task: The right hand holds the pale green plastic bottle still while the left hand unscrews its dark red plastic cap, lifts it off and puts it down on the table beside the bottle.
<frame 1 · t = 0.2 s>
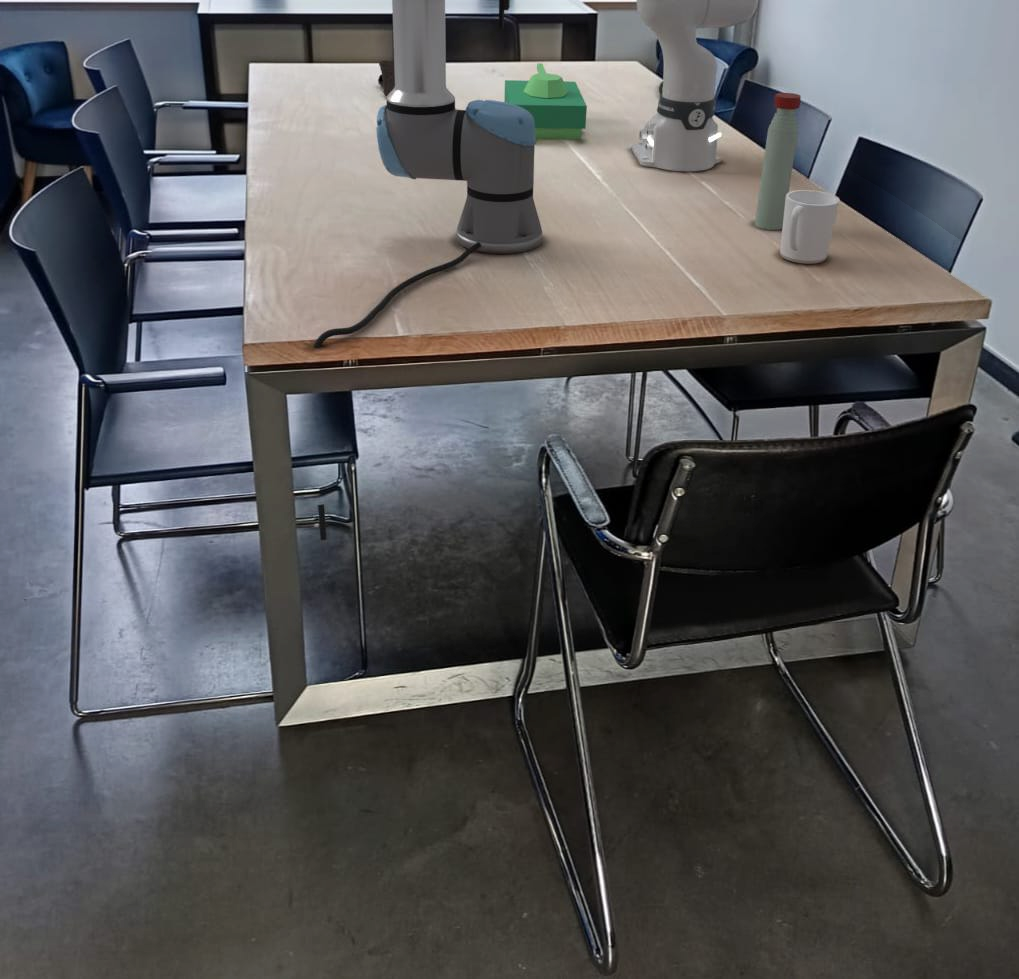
left hand: (468, 26, 224), 28 cm above the table, tool pointing down, fingers open, 13 cm apart
axe head: (403, 91, 300), on the table
mug: (800, 258, 191), on the table
toy tank: (541, 125, 270), on the table
cap: (787, 97, 194), point 23 cm above the table, screwed on, not yet turned
bottle: (769, 225, 206), on the table
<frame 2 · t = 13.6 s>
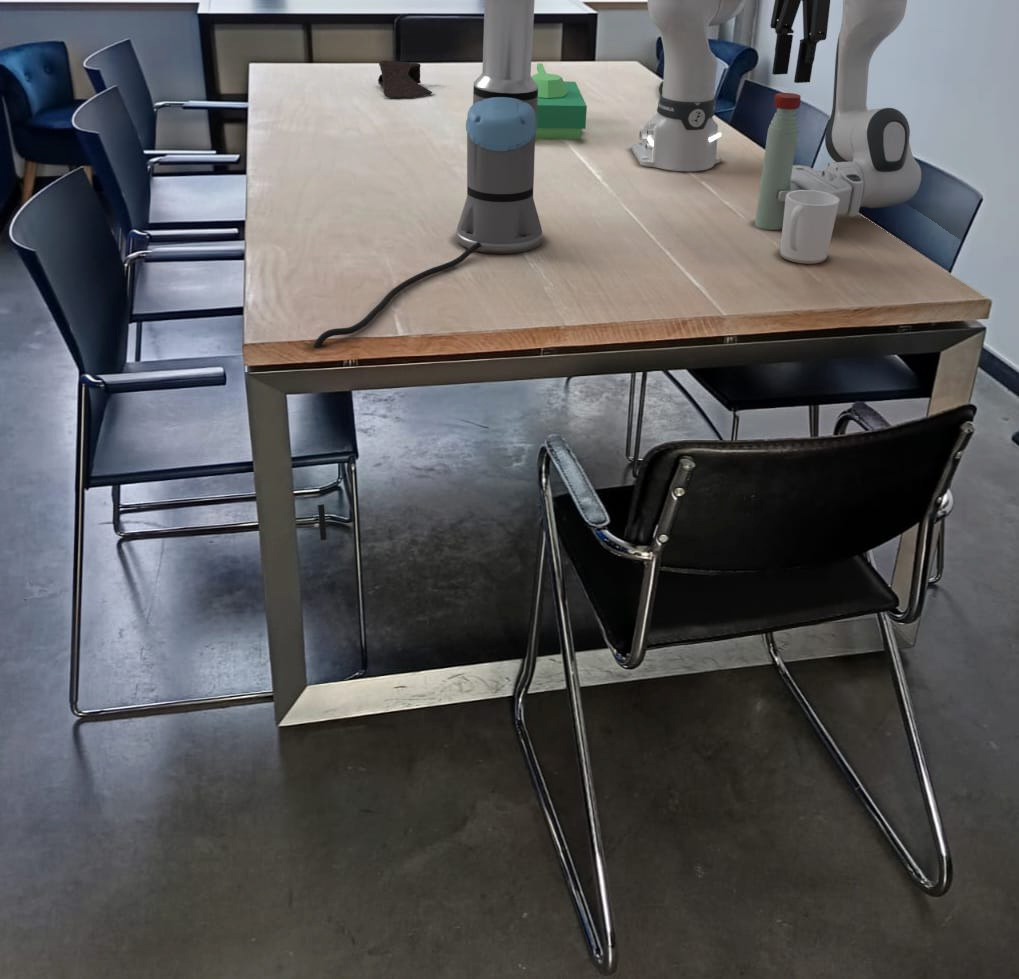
left hand: (790, 77, 192), 27 cm above the table, tool pointing down, fingers open, 7 cm apart
right hand: (770, 190, 203), 7 cm above the table, tool horizontal, fingers closed on bottle, 5 cm apart
bottle: (769, 225, 206), on the table, touching right hand
everything else where it was.
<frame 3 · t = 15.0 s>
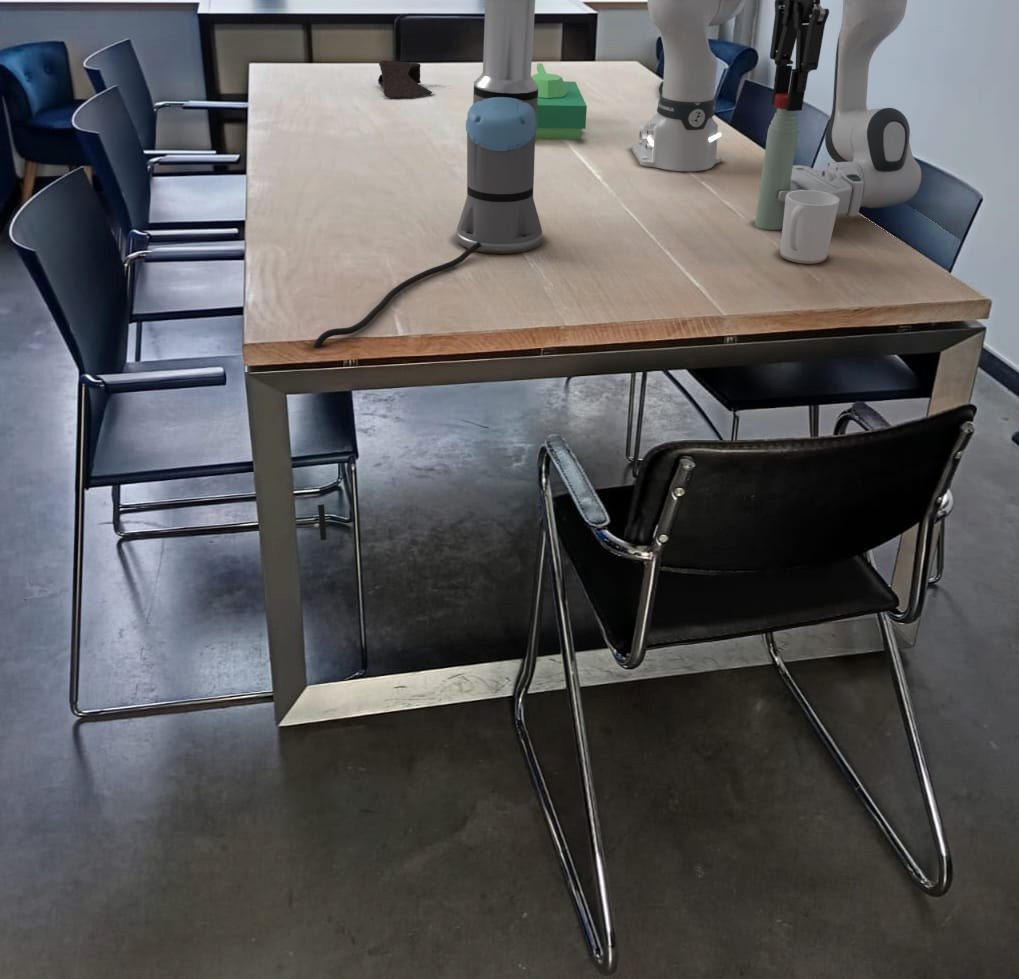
left hand: (786, 106, 195), 22 cm above the table, tool pointing down, fingers closed on cap, 4 cm apart
right hand: (770, 190, 203), 7 cm above the table, tool horizontal, fingers closed on bottle, 5 cm apart
cap: (787, 97, 194), point 23 cm above the table, screwed on, not yet turned, touching left hand
bottle: (769, 225, 206), on the table, touching right hand
everything else where it was.
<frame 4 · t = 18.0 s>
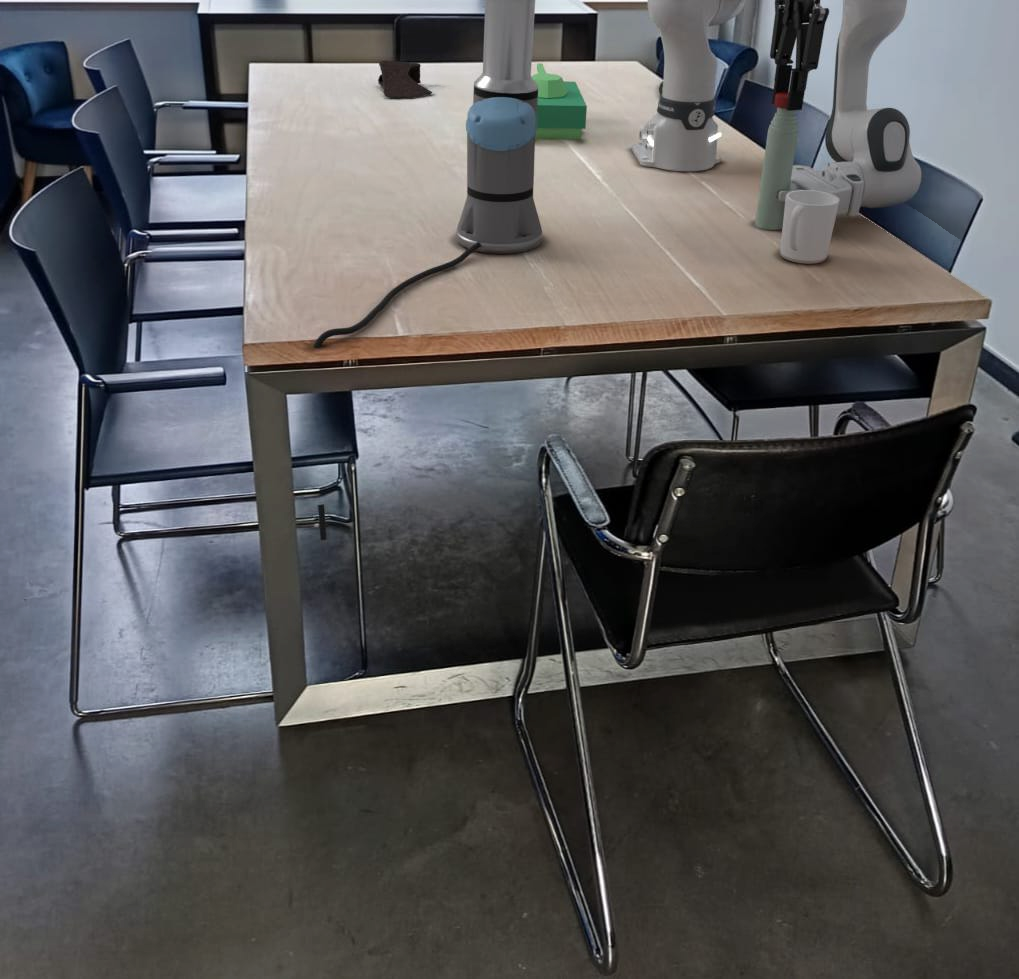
left hand: (786, 106, 195), 22 cm above the table, tool pointing down, fingers closed on cap, 4 cm apart
right hand: (770, 190, 203), 7 cm above the table, tool horizontal, fingers closed on bottle, 5 cm apart
cap: (788, 96, 194), point 23 cm above the table, turned 80° so far, risen 0.1 cm, still on its thread, touching left hand
bottle: (769, 225, 206), on the table, touching right hand
everything else where it was.
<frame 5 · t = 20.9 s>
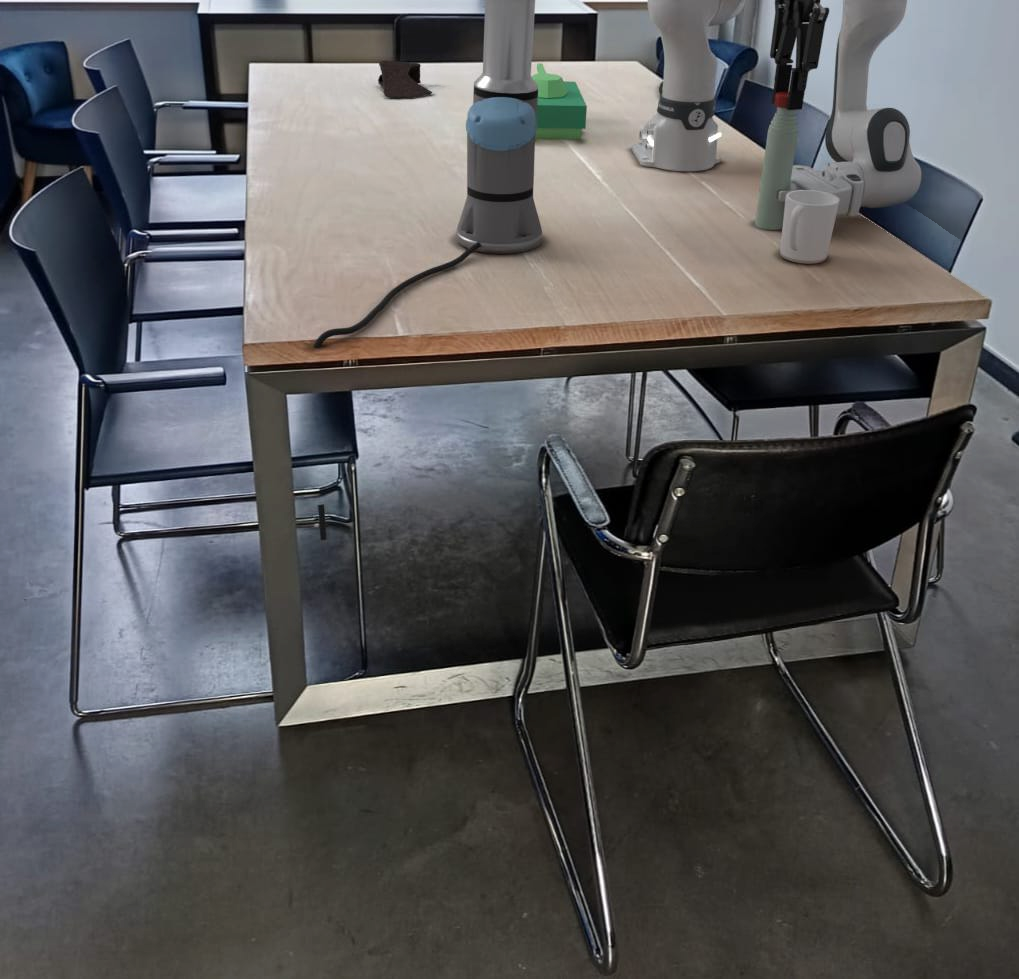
left hand: (786, 105, 195), 22 cm above the table, tool pointing down, fingers closed on cap, 4 cm apart
right hand: (770, 190, 203), 7 cm above the table, tool horizontal, fingers closed on bottle, 5 cm apart
cap: (788, 96, 194), point 23 cm above the table, turned 159° so far, risen 0.2 cm, still on its thread, touching left hand
bottle: (769, 225, 206), on the table, touching right hand
everything else where it was.
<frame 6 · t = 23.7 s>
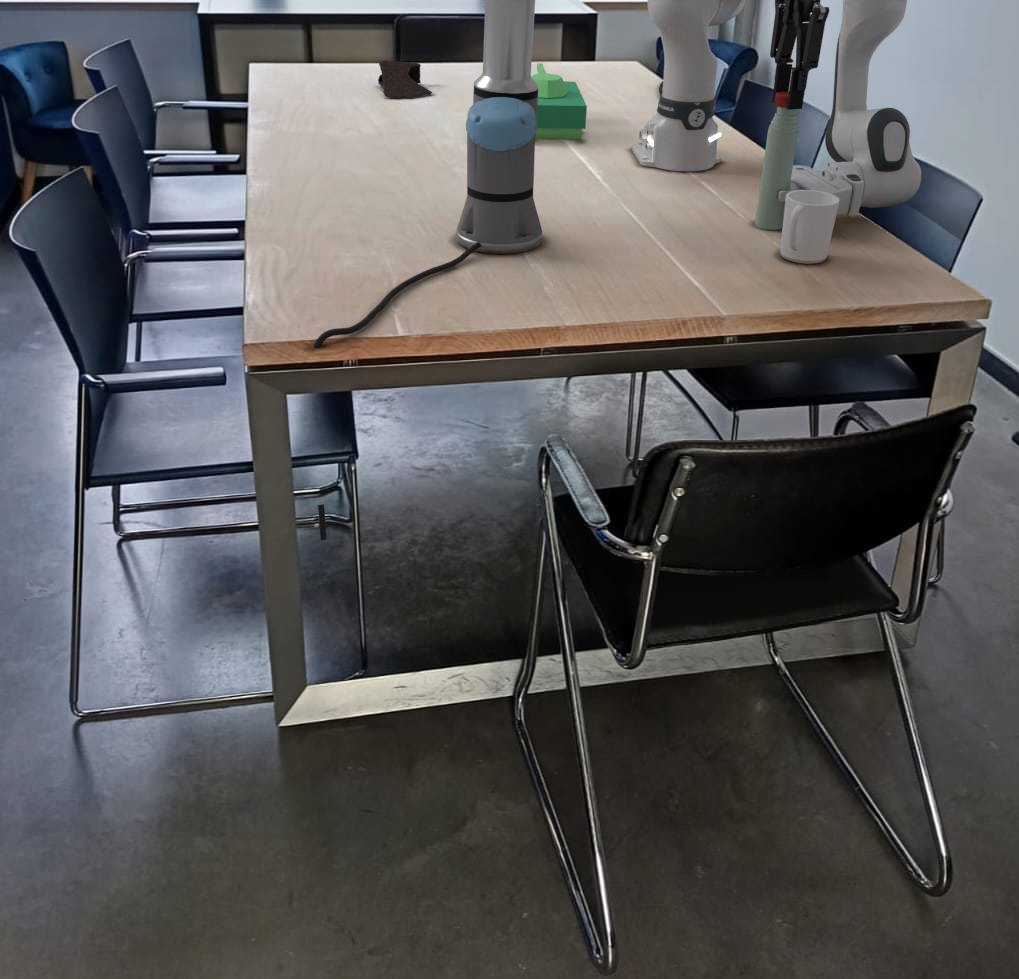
left hand: (786, 105, 195), 22 cm above the table, tool pointing down, fingers closed on cap, 4 cm apart
right hand: (770, 190, 203), 7 cm above the table, tool horizontal, fingers closed on bottle, 5 cm apart
cap: (788, 95, 194), point 24 cm above the table, turned 239° so far, risen 0.3 cm, still on its thread, touching left hand
bottle: (769, 225, 206), on the table, touching right hand
everything else where it was.
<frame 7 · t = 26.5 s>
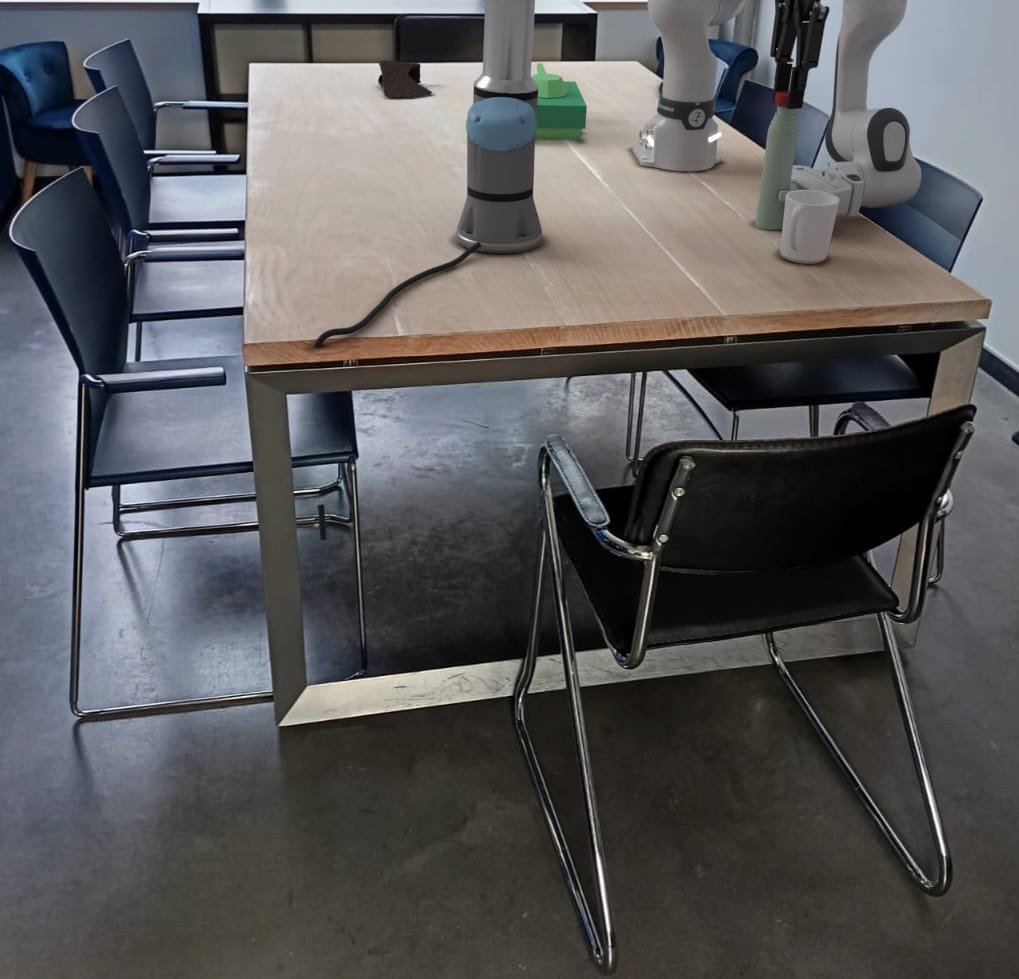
left hand: (786, 104, 195), 22 cm above the table, tool pointing down, fingers closed on cap, 4 cm apart
right hand: (770, 190, 203), 7 cm above the table, tool horizontal, fingers closed on bottle, 5 cm apart
cap: (788, 95, 194), point 24 cm above the table, turned 318° so far, risen 0.3 cm, still on its thread, touching left hand
bottle: (769, 225, 206), on the table, touching right hand
everything else where it was.
when the left hand's fingers open (1 cm above the table, at t = 36.0 s): cap stays where it is, point 2 cm above the table.
when the right hand's fingers open (7 cm above the table, at t = 37.3 s): bottle stays where it is, on the table.
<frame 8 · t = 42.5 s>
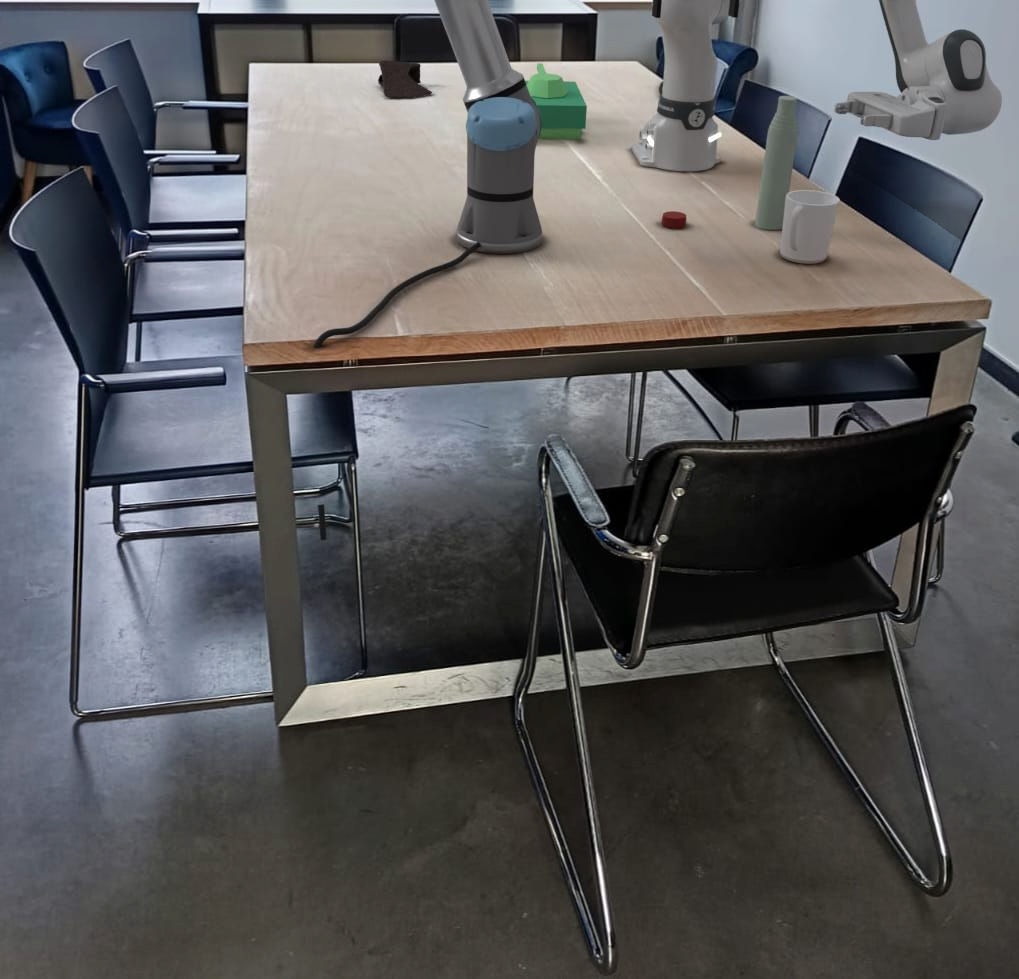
left hand: (694, 16, 186), 36 cm above the table, tool pointing down, fingers open, 13 cm apart
right hand: (849, 114, 199), 20 cm above the table, tool horizontal, fingers open, 8 cm apart
cap: (674, 216, 204), point 2 cm above the table, off its thread
bottle: (769, 225, 206), on the table
everything else where it was.
at the end: cap came off its thread; cap point 1.7 cm above the table; the left hand is holding nothing; the right hand is holding nothing; bottle tilted 0°; bottle moved 0.0 cm from its start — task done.
